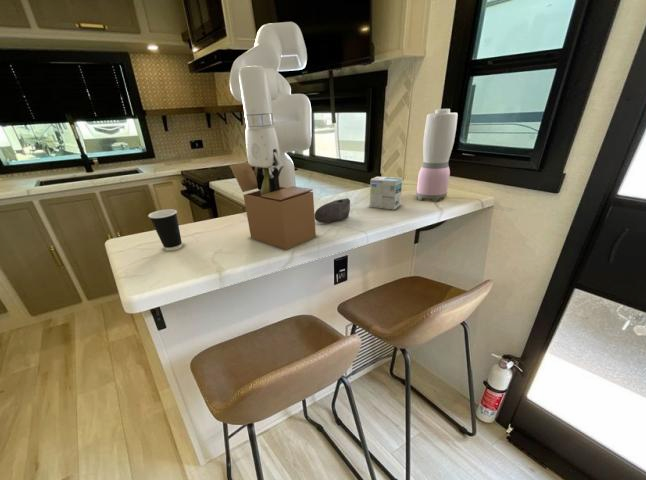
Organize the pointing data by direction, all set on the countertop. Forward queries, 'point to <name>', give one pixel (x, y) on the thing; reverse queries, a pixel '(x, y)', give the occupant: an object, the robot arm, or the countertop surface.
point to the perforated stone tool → (333, 211)
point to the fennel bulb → (266, 183)
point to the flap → (244, 176)
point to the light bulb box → (385, 192)
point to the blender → (436, 154)
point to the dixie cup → (167, 228)
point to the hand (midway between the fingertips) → (268, 189)
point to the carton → (281, 216)
